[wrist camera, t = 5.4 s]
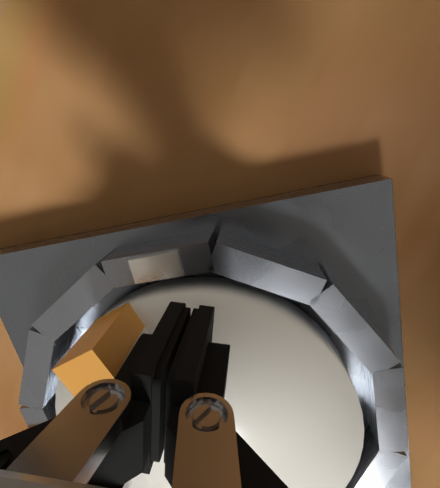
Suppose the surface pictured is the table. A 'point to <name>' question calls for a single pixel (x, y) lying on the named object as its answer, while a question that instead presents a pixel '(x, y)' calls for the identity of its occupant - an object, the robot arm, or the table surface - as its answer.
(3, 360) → the table surface
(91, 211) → the table surface
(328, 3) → the table surface
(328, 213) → the panel
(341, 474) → the dial
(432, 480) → the table surface
